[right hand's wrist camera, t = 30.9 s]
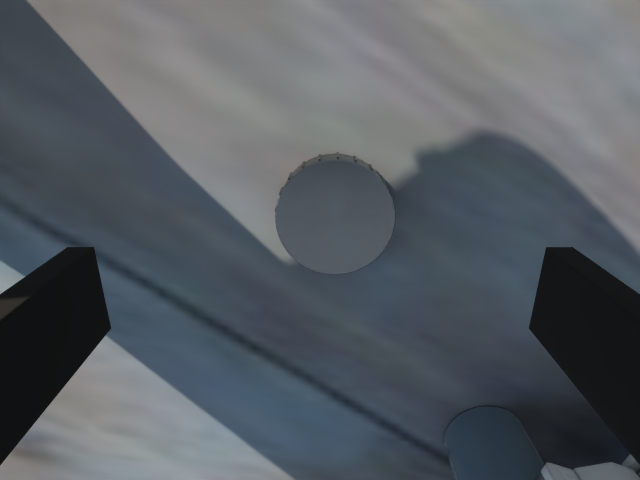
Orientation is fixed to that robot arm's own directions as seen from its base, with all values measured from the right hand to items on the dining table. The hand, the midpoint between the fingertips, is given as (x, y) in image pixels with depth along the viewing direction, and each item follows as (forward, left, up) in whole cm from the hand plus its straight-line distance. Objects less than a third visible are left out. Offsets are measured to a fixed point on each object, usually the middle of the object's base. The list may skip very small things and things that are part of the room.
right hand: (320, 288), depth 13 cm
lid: (+1, +1, -10) cm, 10 cm away
